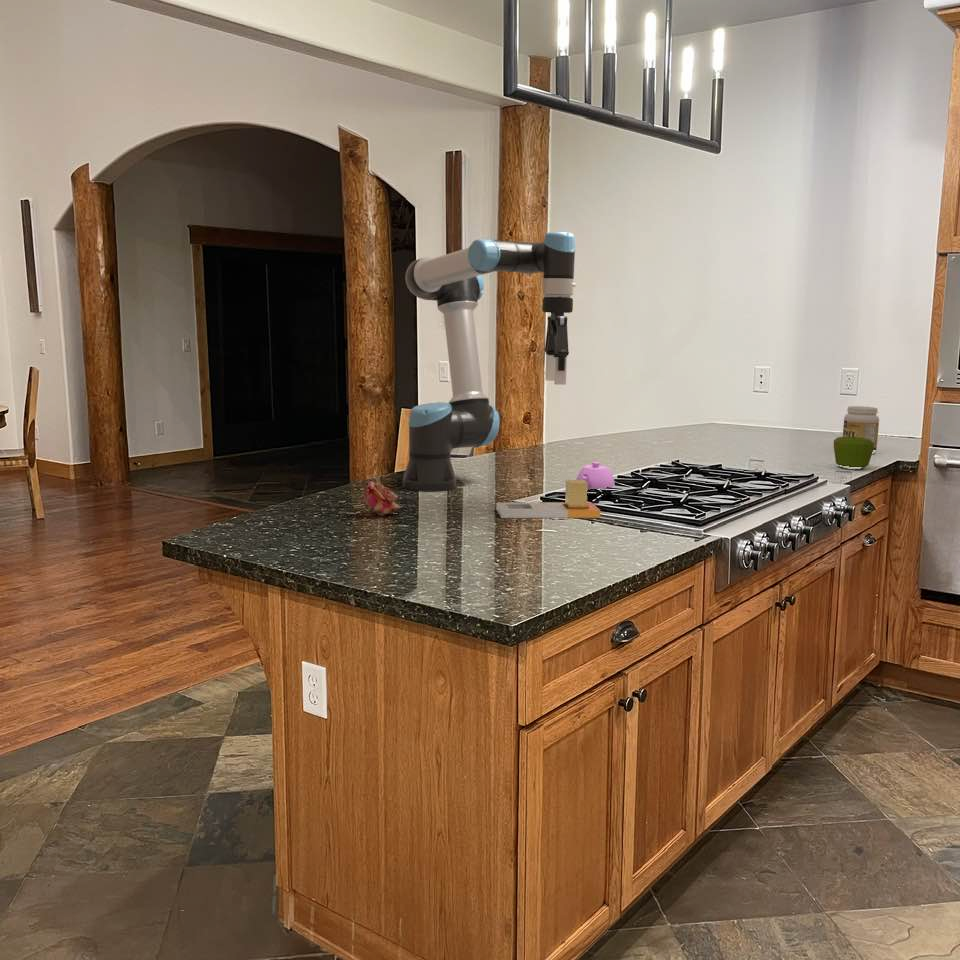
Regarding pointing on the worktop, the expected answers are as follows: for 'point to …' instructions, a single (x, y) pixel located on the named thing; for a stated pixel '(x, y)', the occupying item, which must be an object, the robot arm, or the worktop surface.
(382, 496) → the flower
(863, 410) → the supplement tub
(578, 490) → the brass nut block
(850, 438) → the apple
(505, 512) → the rail
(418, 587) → the worktop surface
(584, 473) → the teapot
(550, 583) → the worktop surface
